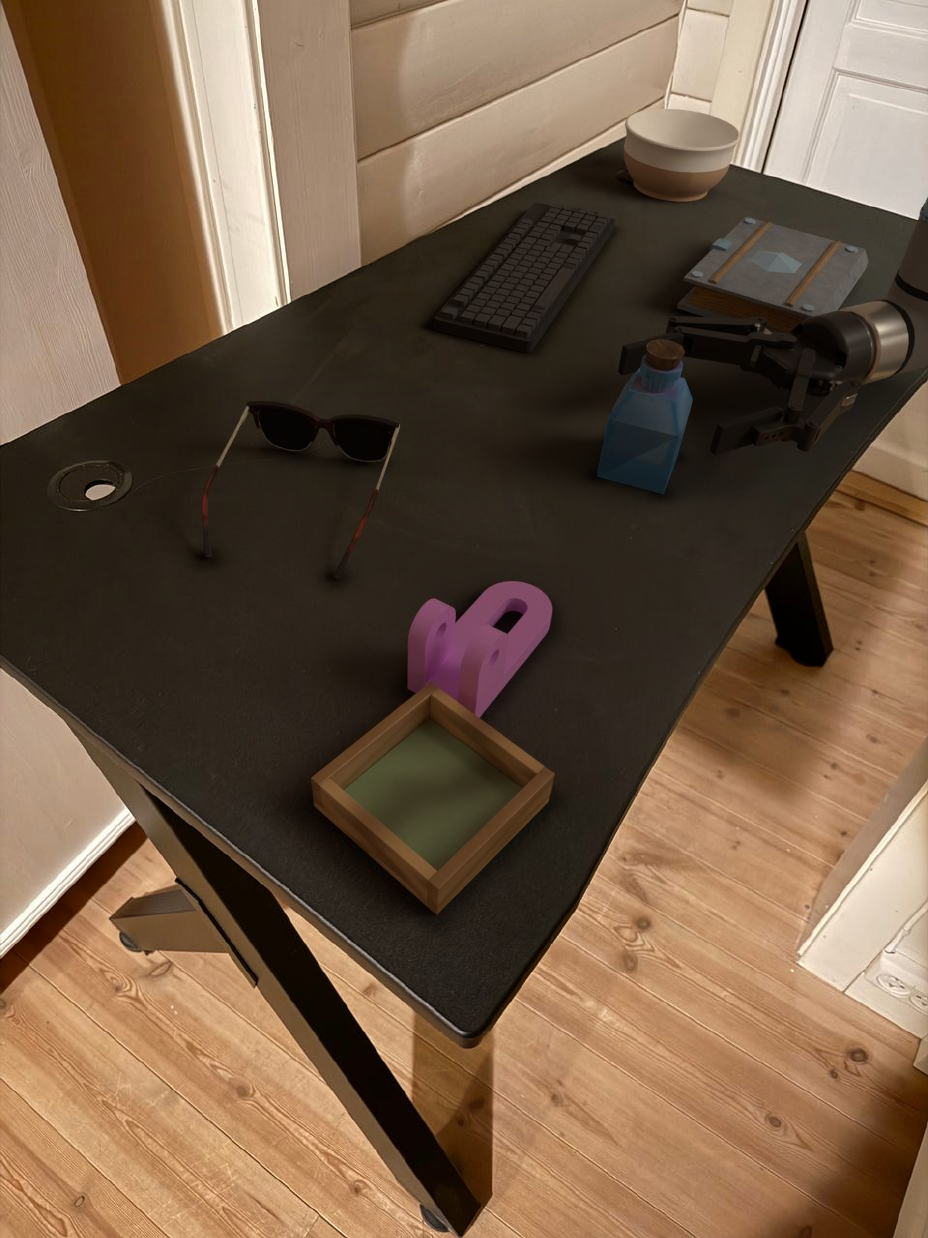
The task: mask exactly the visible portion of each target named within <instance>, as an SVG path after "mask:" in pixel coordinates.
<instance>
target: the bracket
mask: <svg viewBox="0 0 928 1238" xmlns="http://www.w3.org/2000/svg"><path fill="white" fill-rule="evenodd" d="M508 612H517V613H519V614H521V615H522V616H521V618H520V619H519V620H518V621H517V622H516V623H515V625H514V626H512V628H511V629H510V631H508V633H506V632H504V631H502V630H499V629H498V628H495V627H494V626H495V625H496V624H497V623H498V622H499V621H500V619H501V618H502V617H503V616H504V615H505V614H507V613H508ZM456 617H457V614H456V609H455V608H454V607H453V606H451V605H449V604H448V603H445V602H443V601H441V600H439V599H437V598H430V599H428V600H427V601H426V602H425V603H424V604H423V605H422V606H421V607H420V608H419V610H418V611H417V613H416V615H415V616H414V619H413V620H412V622H411V625H410V628H409V630H408V637H407V690H410V691H411V692H413V693H414V694H416V693H417V692H418V691H420V690H421V689H422V688H423V687H425V686H426V685H427V684H428V683H429V682H431V683H433V684H434V685H435V686H437V687H438V688H439V689H441V690H442V691H444V692H445V693H446V694H448V695H449V696H450V697H452V698H453V699H454V700H456V701H457V702H458V703H460V704H461V705H462V706H464V707H465V708H466V709H468V710H469V711H471V712H472V713H473V714H475V715H476V716H477V717H479V718H480V719H481V717H482V716H483V714H484V713H485V711H486V710H487V709H488V708H489V707H490V706H491V704H492V703H493V702H494V700H495V699H496V698H497V697H498V695H499V694H500V693H501V692H502V690H503V689H504V688H505V686H507V684H508V683H509V681H510V680H511V679H512V678H513V677H514V676H515V674H516V673H517V672H518V670H519V669H520V668H521V666H523V664H524V663H525V662H526V660H527V659H528V658H529V657H530V656H531V654H532V653H533V652H534V651H535V649H536V648H537V647H538V646H539V644H540V643H541V641H542V640H543V639H544V638H545V637H546V635H547V634H548V632H549V630H550V627H551V622H552V617H553V605H552V601H551V600H550V598H549V596H548V595H547V594H546V593H545V592H544V591H543V590H541V589H540V588H539V587H537V586H535V585H533V584H530V583H527V582H523V581H516V580H508V581H502V582H497V583H495V584H493V585H491V586H489V587H488V588H487V589H485V590H484V591H483V592H482V593H481V595H480V596H478V598H476V600H475V601H474V602H473V603H472V604H471V606H470V607H468V609H467V610H466V611H465V612H464V613H463V614H462V615H461V616H460V618H458V620H456V619H457V618H456Z"/></svg>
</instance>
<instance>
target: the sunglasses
mask: <svg viewBox="0 0 928 1238" xmlns="http://www.w3.org/2000/svg"><path fill="white" fill-rule="evenodd" d="M245 404H246V406H245V408H244V410H243V412H242V414H241V416H240V417H239V418H240V419H239V421H238V423H237V424H236V427H235V428H234V431H233V432H232V435H231V436H230V437H229V440H228V442H227V444H226V446H225V447H224V450H223V451H222V453H221V455H220V456H219V458H218V460H217V462H216V464H215V465H214V467H213V469H212V471H211V473H210V475H209V477H208V478H207V481H206V483H205V485H204V488H203V492H202V497H201V522H202V536H203V539H202V540H203V553H204V558H205V559H210V558H212V557H213V554H212V548H211V542H210V534H209V533H210V531H209V517H208V500H209V496H210V495H209V494H210V490H211V489H212V485H213V483H214V482H215V480H216V477H217V475H218V474H219V471H220V466H221V465H222V463H223V461H224V458H225V456H226V454H227V453H228V451H229V449H230V447H231V445H232V443H233V441H234V439H235V437H236V436H237V433H238V431H239V429H240V427H241V425H242V424H243V423H244V422H245V420H246V418H247V417H248V415H249V413H250V414H252V417H253V421H254V423H255V426H256V429H258V430H261V432H262V434H263V436H264V438H265V440H266V441H267V442H268V443H269V444H270V445H272V446H274V447H277V448H279V449H282V450H286V451H291V452H303V451H305V450H307V449H308V448H309V447H310V445H311V444H312V443H314V442H315V440H316V438H317V436H318V434H319V431H320V429H324V430H326V431H327V433H328V435H329V437H330V439H331V441H332V442H333V444H334V446H336V447H339V449H340V451H342V453H343V454H344V455H346V457H348V458H350V459H352V460H354V461H359V462H365V463H373V462H381V461H383V460H384V459H385V462H384V464H383V467H382V470H381V473H380V476H379V479H378V481H377V484H376V487H375V489H373V490H372V494H371V496H370V499H369V502H368V505H367V507H366V510H365V512H364V514H363V515H362V517H361V520H360V521H359V524H358V526H357V527H356V530H355V532H354V534H353V537H352V538H351V540H350V542H349V544H348V546H347V548H346V550H345V552H344V554H343V556H342V558H341V560H340V562H339V564H338V566H337V568H336V571H335V573H334V574H333V577H334V578H335V579H337V580H341V578H342V576H343V573H344V571H345V568H346V565H347V563H348V561H349V558H350V556H351V555H352V553H353V551H354V548H355V547H356V544H357V542H358V541H359V539H360V536H361V534H362V532H363V530H364V528H365V525H366V523H367V522H368V520H369V518H370V515H371V513H372V511H373V509H374V506H375V504H376V500H377V497H378V494H379V490H380V487H381V485H382V481H383V479H384V475H385V472H386V469H387V468H388V467H387V466H388V463H389V461H390V458H391V455H392V452H393V450H394V447H395V444H396V441H397V437H398V434H399V433H400V430H401V423H400V422H398V421H394V420H390V419H387V418H384V417H380V416H375V415H369V414H361V413H348V414H347V413H346V414H345V413H344V414H338V415H334V416H332V417H330V418H321V417H319V416H318V415H316V414H315V413H314V412H312V411H309V410H307V409H304V408H303V407H300V406H297V405H293V404H290V403H287V402H286V403H285V402H280V401H273V400H272V401H271V400H269V401H268V400H250V401H249V400H248V401H247V403H245Z"/></svg>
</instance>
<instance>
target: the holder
mask: <svg viewBox="0 0 928 1238" xmlns="http://www.w3.org/2000/svg"><path fill="white" fill-rule="evenodd" d="M555 775H556V774H555V772H554V771H552V770H550V769H549V768H548V767H547V766H545V765H544V764H542V763H541V762H539V761H538V760H537V759H536V758H534V757H533V756H531V755H530V754H529V753H527V752H526V751H525V750H523V749H522V748H521V747H520V746H518V745H517V744H515V743H514V742H513V741H511V740H510V739H508V738H507V737H505V735H503V734H502V733H500V731H497V729H495V728H494V727H492V726H491V725H490V724H488V722H486V721H484V720H483V719H481V717H480V718H479V717H477V716H476V715H475V714H473V713H472V712H471V711H469V710H468V709H466V708H465V707H464V706H462V705H461V704H460V703H458V702H457V701H456V700H454V699H453V698H452V697H450V696H449V695H448V694H446V693H445V692H444V691H442V690H441V689H439V688H438V687H437V686H435V685H434V684H433V683H431V682H429V683H428V684H427V685H426V686H425V687H423V688H422V689H421V690H420V691H418V692H417V693H414V694H413V695H412V696H411V697H409V698H408V699H407V700H406V701H405V702H404V703H402V704H401V705H399V706H397V708H396V709H394V710H393V711H392V712H391V713H390V714H388V715H387V716H386V717H385V718H384V719H382V720H380V721H379V722H378V723H377V724H376V725H375V726H373V727H372V728H371V729H370V730H368V731H367V732H366V733H365V734H363V735H362V736H361V737H360V738H358V739H357V740H356V741H355V742H353V743H352V744H351V745H350V746H349V747H347V748H346V749H345V750H344V751H342V752H341V753H340V754H339V755H337V756H336V757H335V758H334V759H332V760H331V761H330V762H329V763H328V764H326V765H325V766H324V767H322V768H321V769H320V770H319V771H318V772H316V773H314V775H313V776H311V778H310V782H311V783H310V784H311V790H312V798H313V799H312V800H313V806H314V807H315V808H316V810H318V811H319V812H320V813H321V814H322V815H324V817H326V818H327V819H328V820H329V821H330V822H331V823H332V824H334V825H335V826H336V827H337V829H339V830H340V831H342V833H343V834H345V835H346V836H347V837H348V838H349V839H351V840H352V842H354V843H355V844H356V845H357V846H358V847H360V849H362V850H363V851H364V852H365V853H366V854H367V855H369V856H370V857H371V858H372V859H373V860H374V861H375V862H376V863H378V864H379V865H380V866H381V868H383V869H384V870H385V871H386V872H388V873H389V874H390V875H391V876H392V877H393V878H394V879H395V880H396V881H398V882H399V883H400V884H401V885H402V886H403V887H404V888H406V890H408V891H409V892H410V893H411V894H412V895H413V896H415V897H416V899H418V900H419V901H420V902H421V903H422V904H424V905H425V906H426V907H427V908H428V909H429V910H430V911H431V912H432V913H434V914H435V915H439V914H440V912H441V911H442V910H443V909H445V908H446V906H448V904H449V903H450V902H451V901H452V900H453V899H454V898H455V897H456V896H457V895H458V894H459V893H461V891H462V890H463V889H464V888H465V887H466V886H467V885H468V884H469V883H470V882H471V881H472V880H473V879H474V878H475V877H476V876H477V875H478V874H479V873H480V872H481V871H482V870H483V869H484V868H485V867H486V866H487V865H488V864H489V863H490V862H491V861H492V860H493V858H495V857H496V856H497V855H498V854H499V853H500V851H502V850H503V849H504V848H505V846H507V845H508V843H510V842H511V841H512V839H513V838H514V837H516V835H518V834H519V832H520V831H522V829H523V828H524V827H526V825H527V824H529V822H530V821H531V820H532V819H533V818H534V817H535V816H536V815H537V814H538V813H539V812H540V811H541V810H542V809H543V808H544V807H546V805H548V803H549V801H550V797H551V793H552V788H553V784H554V780H555Z"/></svg>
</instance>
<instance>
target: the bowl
mask: <svg viewBox="0 0 928 1238" xmlns="http://www.w3.org/2000/svg"><path fill="white" fill-rule="evenodd" d="M624 126H625V132H626V133H625V134H626V135H625V140H624V143H623V160H624V163H625V167H626V170H627V172H628V173H629V175H630V177H631V178H632V180H633V186H634V188H635V189H636V190H637V191H639V192H640V193H642V194H643V195H646V196H648V197H651V198H653V199H657V200H662V201H667V202H668V201H669V202H676V203H677V202H679V203H682V202H693V201H698V200H701V199H703V198H705V197H706V196H707V194H708V193H709V191H710V190H711V189H712V188H714V187H715V186H716V185H718V184H719V183H720V182H721V180H723V178H724V177H725V176H726V174H727V173H728V171H729V168H730V165H731V163H732V161H733V158H734V153H735V148H736V146H737V145H738V144H739V142H740V140H741V133H740V131H739V129H738V128H737V127H736V126H735V125H733V124H732V123H730V122H729V121H727V120H725V119H722V118H720V117H717V116H715V115H712V114H707V113H704V112H699V111H693V110H689V109H680V108H654V109H652V108H651V109H645V110H640V111H637V112H635V113H632V114H630V115H629V116H628V117H627V118H626V120H625V122H624Z"/></svg>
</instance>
